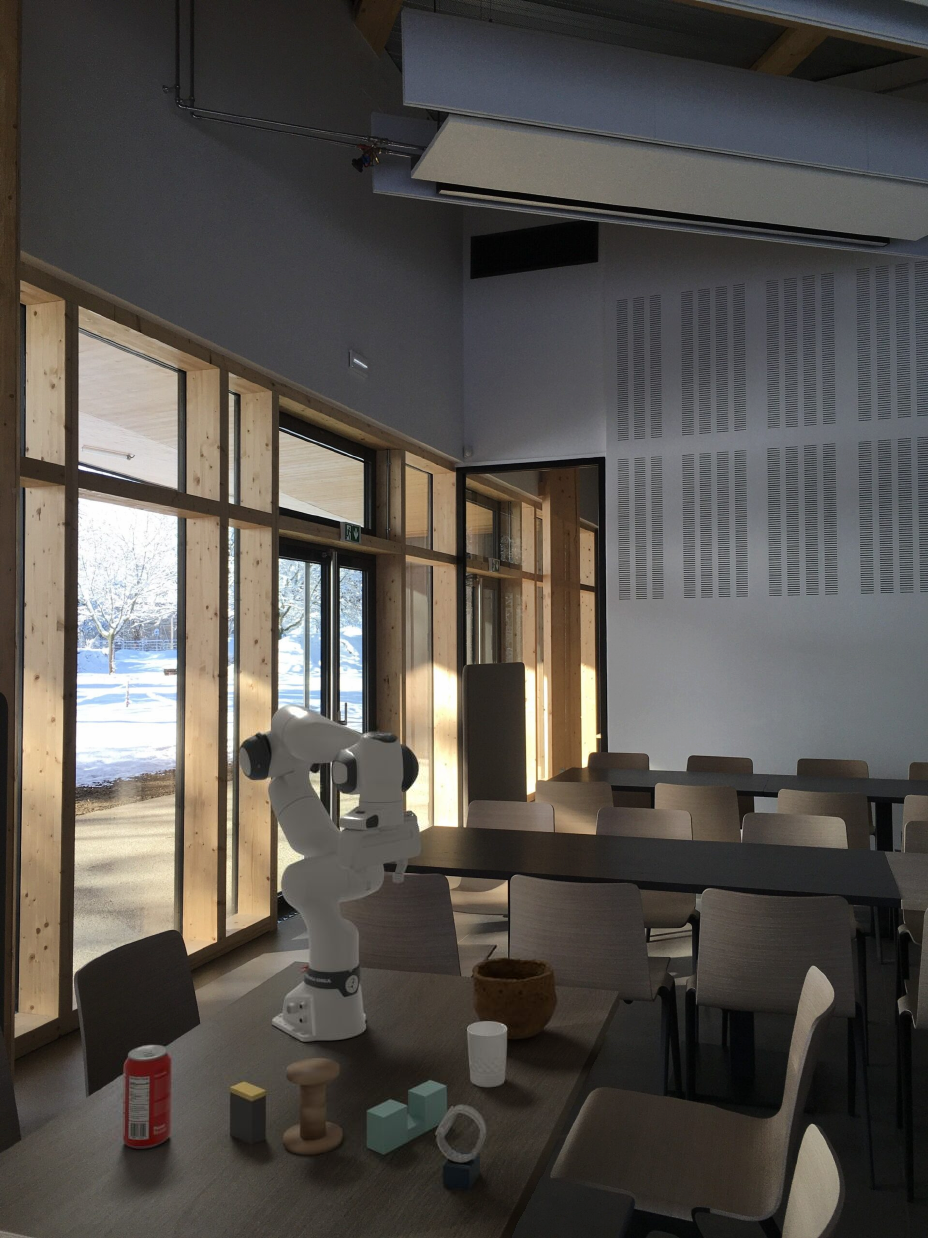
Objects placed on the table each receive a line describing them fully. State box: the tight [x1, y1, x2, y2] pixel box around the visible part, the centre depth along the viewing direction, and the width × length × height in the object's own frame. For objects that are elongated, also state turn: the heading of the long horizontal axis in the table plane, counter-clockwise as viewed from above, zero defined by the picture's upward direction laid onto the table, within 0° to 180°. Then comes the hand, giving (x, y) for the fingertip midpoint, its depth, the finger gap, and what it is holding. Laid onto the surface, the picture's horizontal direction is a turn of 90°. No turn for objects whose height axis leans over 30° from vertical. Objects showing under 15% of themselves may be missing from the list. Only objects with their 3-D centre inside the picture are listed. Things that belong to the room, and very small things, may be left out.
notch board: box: [366, 1079, 448, 1155], centre depth 168 cm, size 4×16×6 cm, turn 140°
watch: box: [434, 1104, 487, 1191], centre depth 153 cm, size 6×8×11 cm
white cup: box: [466, 1021, 508, 1088], centre depth 190 cm, size 8×8×10 cm
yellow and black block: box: [229, 1081, 267, 1146], centre depth 168 cm, size 6×3×8 cm, turn 50°
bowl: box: [471, 956, 559, 1040], centre depth 214 cm, size 19×19×15 cm
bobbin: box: [282, 1057, 343, 1156], centre depth 166 cm, size 10×10×12 cm
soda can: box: [122, 1044, 173, 1150], centre depth 166 cm, size 8×8×15 cm
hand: (381, 886), depth 190 cm, fingers open, 8 cm apart
